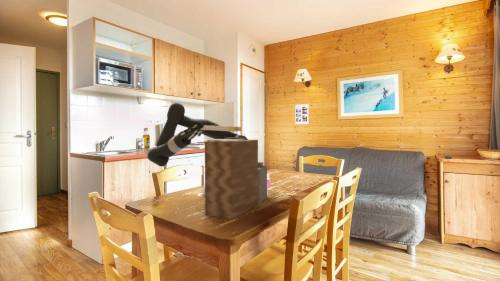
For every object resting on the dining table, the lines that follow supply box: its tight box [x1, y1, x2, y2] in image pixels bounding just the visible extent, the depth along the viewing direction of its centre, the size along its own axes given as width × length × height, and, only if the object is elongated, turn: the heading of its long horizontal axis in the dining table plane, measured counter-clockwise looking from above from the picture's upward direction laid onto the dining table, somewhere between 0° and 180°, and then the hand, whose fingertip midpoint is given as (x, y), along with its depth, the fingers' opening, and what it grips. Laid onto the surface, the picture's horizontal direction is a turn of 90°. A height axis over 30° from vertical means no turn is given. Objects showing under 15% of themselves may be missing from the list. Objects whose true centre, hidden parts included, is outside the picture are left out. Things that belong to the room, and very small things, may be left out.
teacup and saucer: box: [197, 187, 205, 198], centre depth 152 cm, size 9×8×4 cm
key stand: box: [204, 137, 259, 220], centre depth 124 cm, size 14×24×33 cm, turn 153°
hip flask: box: [258, 161, 268, 205], centre depth 140 cm, size 16×4×20 cm, turn 162°
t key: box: [195, 125, 242, 132], centre depth 121 cm, size 22×8×2 cm, turn 63°
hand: (203, 124), depth 124 cm, fingers closed on t key, 2 cm apart
